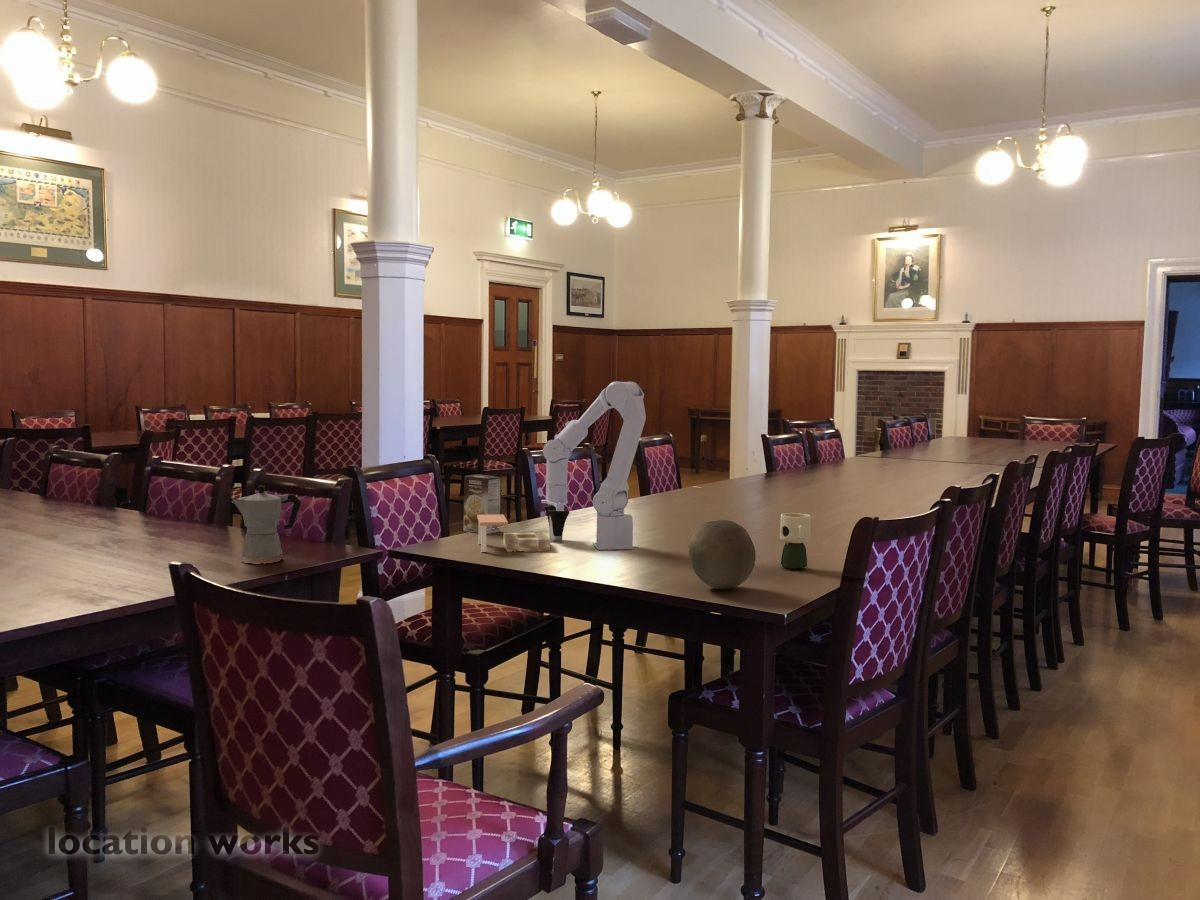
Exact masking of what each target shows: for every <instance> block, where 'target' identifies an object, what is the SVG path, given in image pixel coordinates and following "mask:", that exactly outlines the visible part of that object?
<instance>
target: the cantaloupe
mask: <svg viewBox="0 0 1200 900" xmlns="http://www.w3.org/2000/svg"><path fill="white" fill-rule="evenodd" d="M688 557H689V562H690V565H691V568H692V570H693V572H694V573H695V574H696V576H697V577H698V579H700V581H701V582H702V583H703V584H705V585H707V586H709V587H711V588H712V589H715V590H729V589H733V588H737V587H738V586H739V585H741V584H742V583H744V582H745V581H746V580H747V579H748V578H749V577H750V575H751V574H752V572H753V570H754V567H755V565H756V558H757V556H756V547H755V545H754V542H753V540H752V538H751V535H750V534H749V533H748V531H747V529H746V528H744V527H743V525H740V524H738V523H737V522H734V521H731V520H727V519H721V520H714V521H713V520H712V521H708V522H704V523H703V524H701V525H699V526H698V527H697V528H696V530H695V531H694V533H693V534H692V535H691V537H690V539H689V542H688Z"/></svg>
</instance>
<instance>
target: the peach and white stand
mask: <svg viewBox="0 0 1200 900" xmlns="http://www.w3.org/2000/svg"><path fill="white" fill-rule="evenodd" d="M477 519H478V521H479V533H478V545H479V544H481V545H480V546H481V547H480V552H486V553H487V534H486V526H492V525H500V526H508V524H509V521H508V520H507V518H506V517H505V515H504V514H501V513H500V515H477Z"/></svg>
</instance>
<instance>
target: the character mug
mask: <svg viewBox="0 0 1200 900" xmlns="http://www.w3.org/2000/svg"><path fill="white" fill-rule="evenodd" d="M811 522H812V516H811V515H810V514H808V513H798V512H784V513H781V514H780V525H779V526H780V527H779V530H780V531H779V539H780V541H782V542H784V543H785V544H784V545H783V549H782V554H781V559H780V566H781V567H782V568H786V569H794V568H795V569H796V570H797V569H798V568H802V569H803V568H808V553H807V548H806V545H805V543H809V542H810V541H811V527H812V526H811ZM795 569H794V570H795Z"/></svg>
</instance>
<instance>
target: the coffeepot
mask: <svg viewBox="0 0 1200 900" xmlns="http://www.w3.org/2000/svg"><path fill="white" fill-rule="evenodd" d="M257 490H258V493H254V494H251V495H248V496H243V497H238V498H234V499H232V501H231V503H232V504H234V505H235V506H236V508H237V509H238V510H239V512H240V514H241V515H242V518H243V522H244V523H243V524H244V527H246V534H245V536H244V543H243V548H242V549H243V550H242V554H241V558H242V557H246V558H269V557H275V556H279V555H280V554H282V555H283V552H282V551H283V550H282V547H281V545H282V544H281V541H280V535H279V533H278V529H277V526H278V525H279V524H280V518H281V513H282V512H281V511H282V505H283V504H287V503H292V507H291V513H290V515H289V517H288V523H287V524H283V525H282V526H283V528H284V529H285V530H287V529H288V530H289V529H292V528H293V527H294V525H295V521H296V519H297V517H298V514H299V511H300V508H301V505H302V502H301V500H300V499H299V497H298V496H297V495H295V494H289V493H288V494H278V495H275V494H271V493H266V492H265V490H266V485H261V484H260V485H258V486H257Z"/></svg>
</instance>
